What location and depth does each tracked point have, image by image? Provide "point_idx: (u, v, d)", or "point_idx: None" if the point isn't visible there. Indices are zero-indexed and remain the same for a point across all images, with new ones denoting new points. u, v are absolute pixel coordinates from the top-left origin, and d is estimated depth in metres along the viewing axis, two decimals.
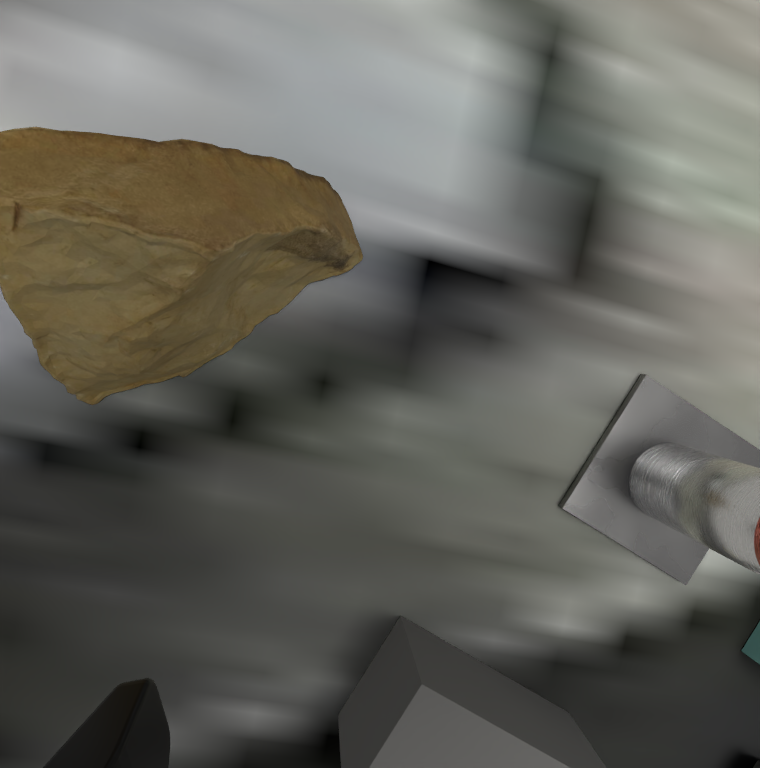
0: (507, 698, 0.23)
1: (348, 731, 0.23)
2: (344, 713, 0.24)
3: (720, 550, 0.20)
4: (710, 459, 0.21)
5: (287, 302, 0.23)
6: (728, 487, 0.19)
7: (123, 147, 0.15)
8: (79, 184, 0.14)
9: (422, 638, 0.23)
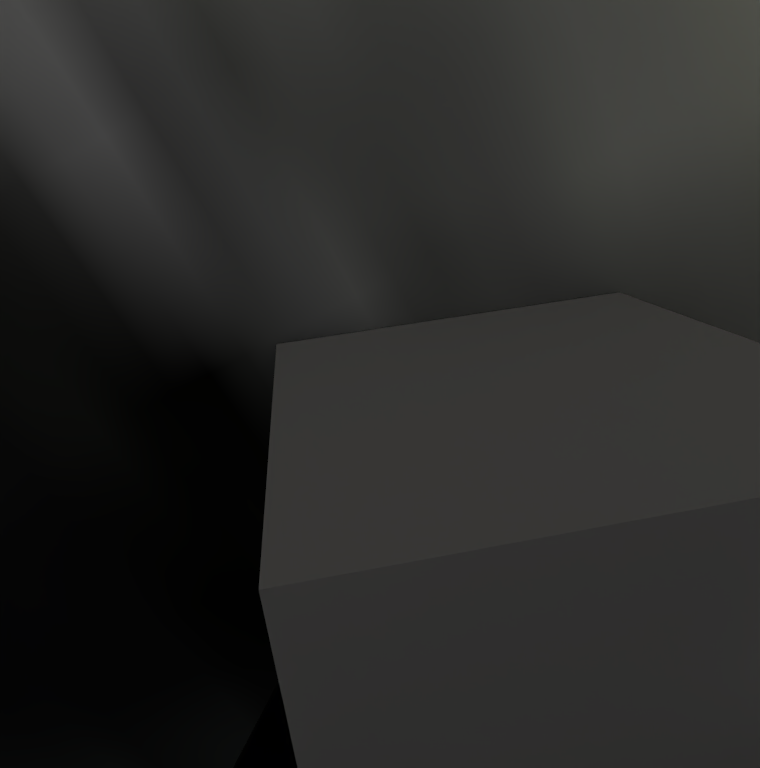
0: None
1: (332, 385, 0.06)
2: (310, 351, 0.07)
3: None
4: None
5: None
6: None
7: None
8: None
9: None
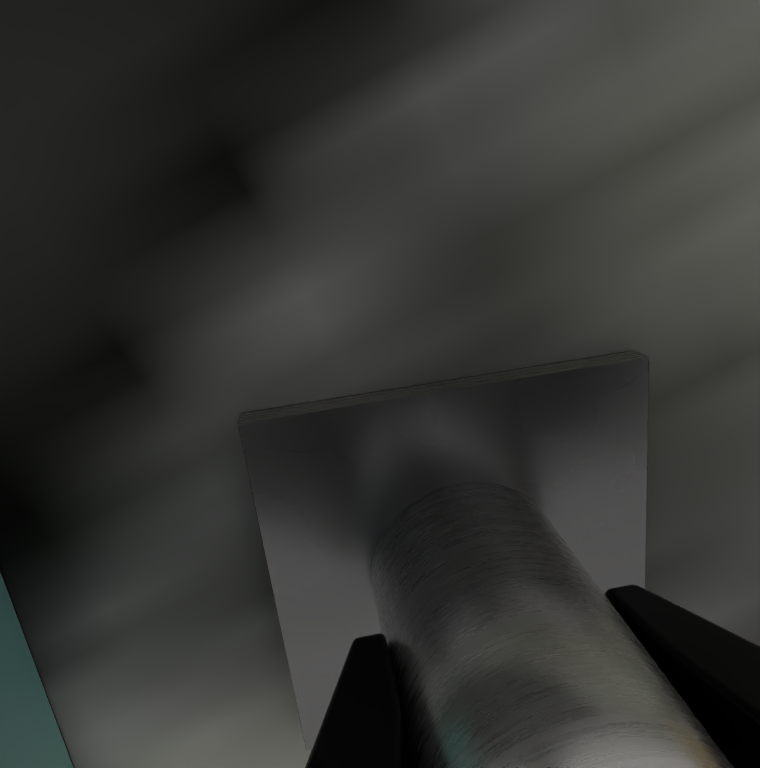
0: None
1: None
2: None
3: None
4: None
5: None
6: None
7: None
8: None
9: None
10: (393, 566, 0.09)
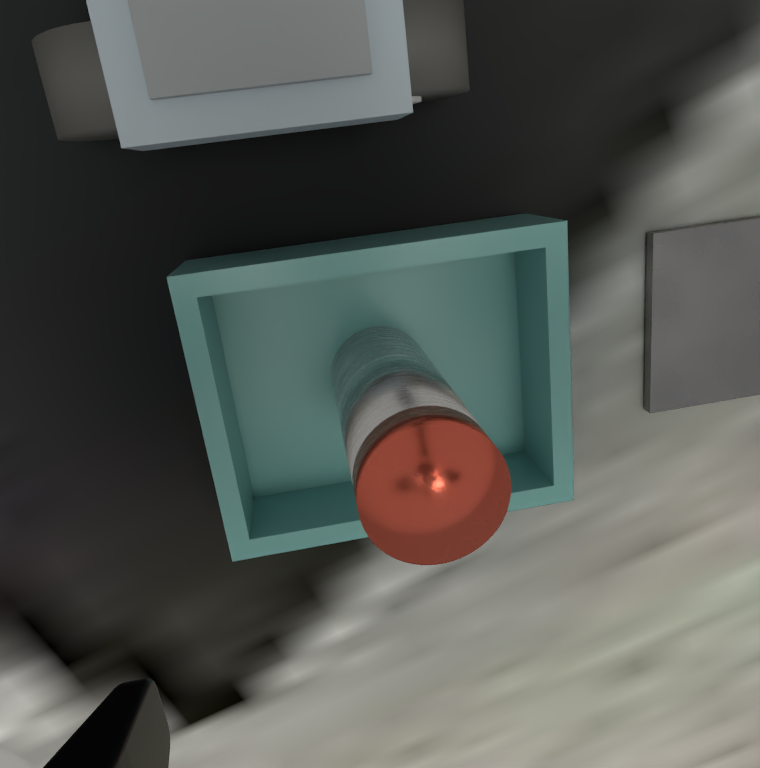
0: None
1: None
2: None
3: (420, 376, 0.15)
4: None
5: None
6: None
7: None
8: None
9: None
10: (339, 360, 0.19)
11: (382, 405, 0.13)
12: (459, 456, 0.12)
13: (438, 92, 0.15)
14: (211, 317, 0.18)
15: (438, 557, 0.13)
